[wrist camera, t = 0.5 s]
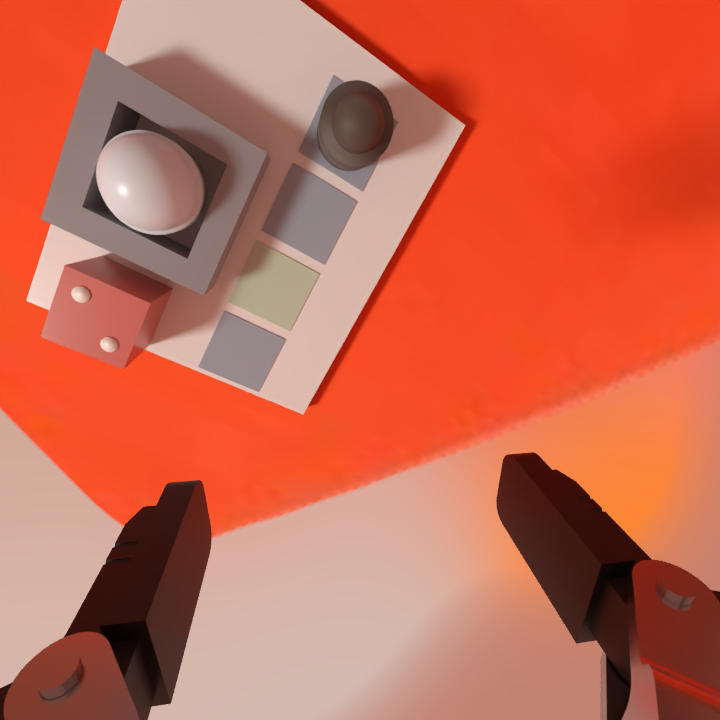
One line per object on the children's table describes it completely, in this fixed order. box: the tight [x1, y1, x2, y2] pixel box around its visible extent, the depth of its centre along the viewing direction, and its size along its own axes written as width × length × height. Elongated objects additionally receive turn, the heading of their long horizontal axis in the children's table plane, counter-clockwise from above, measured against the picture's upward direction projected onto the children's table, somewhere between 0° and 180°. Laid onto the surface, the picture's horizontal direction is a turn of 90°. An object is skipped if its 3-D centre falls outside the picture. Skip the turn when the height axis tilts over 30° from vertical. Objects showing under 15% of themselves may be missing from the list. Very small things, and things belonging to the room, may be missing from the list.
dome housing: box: [41, 47, 271, 296], centre depth 26 cm, size 10×10×4 cm
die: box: [41, 256, 173, 369], centre depth 27 cm, size 5×5×5 cm
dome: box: [96, 130, 207, 235], centre depth 23 cm, size 6×6×5 cm
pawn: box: [317, 80, 394, 171], centre depth 25 cm, size 4×4×6 cm
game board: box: [26, 0, 466, 414], centre depth 29 cm, size 26×22×1 cm
